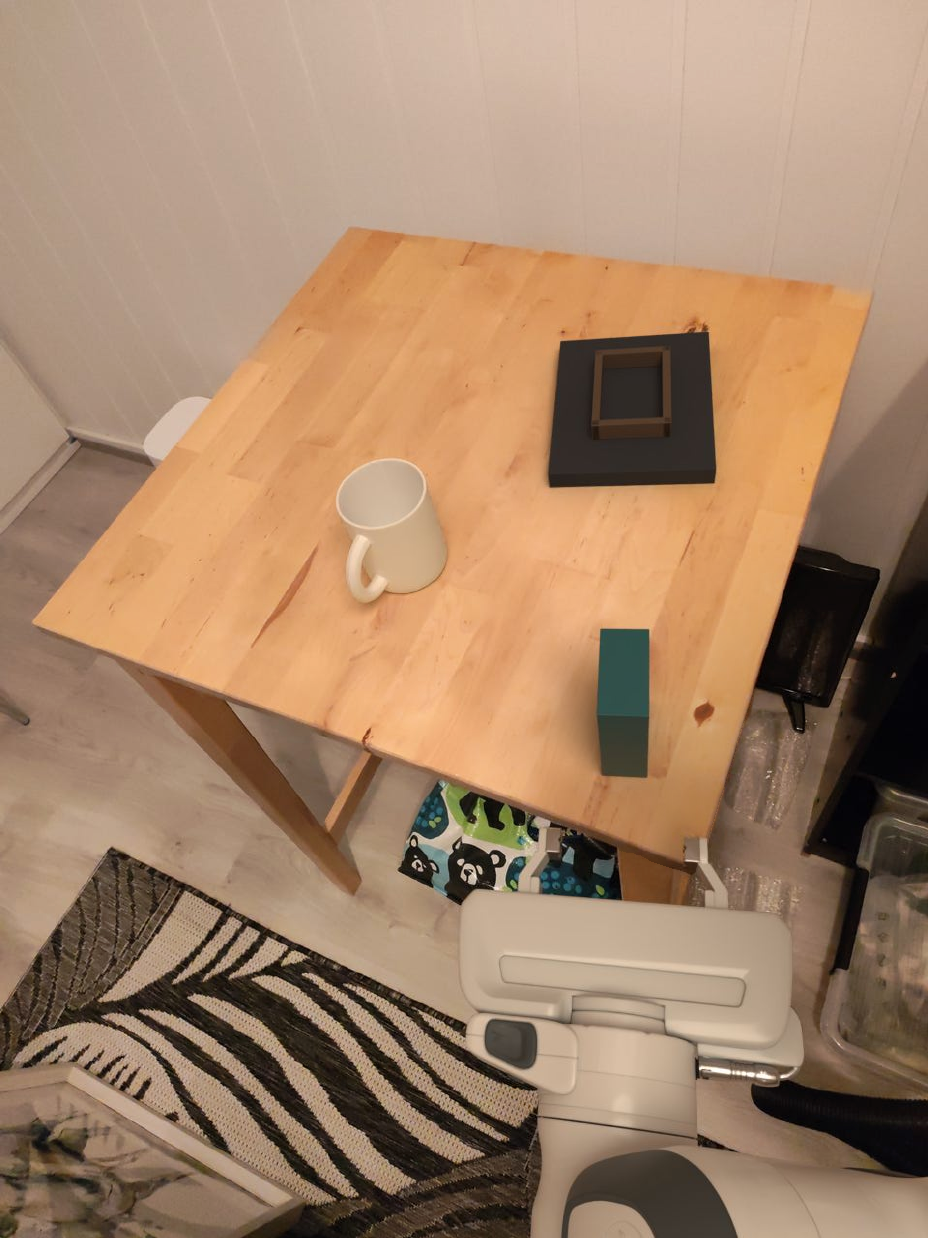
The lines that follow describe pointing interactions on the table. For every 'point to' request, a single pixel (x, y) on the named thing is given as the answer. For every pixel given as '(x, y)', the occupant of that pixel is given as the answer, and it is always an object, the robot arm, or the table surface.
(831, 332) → the table surface
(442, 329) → the table surface
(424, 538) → the mug
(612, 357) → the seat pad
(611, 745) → the back pad
